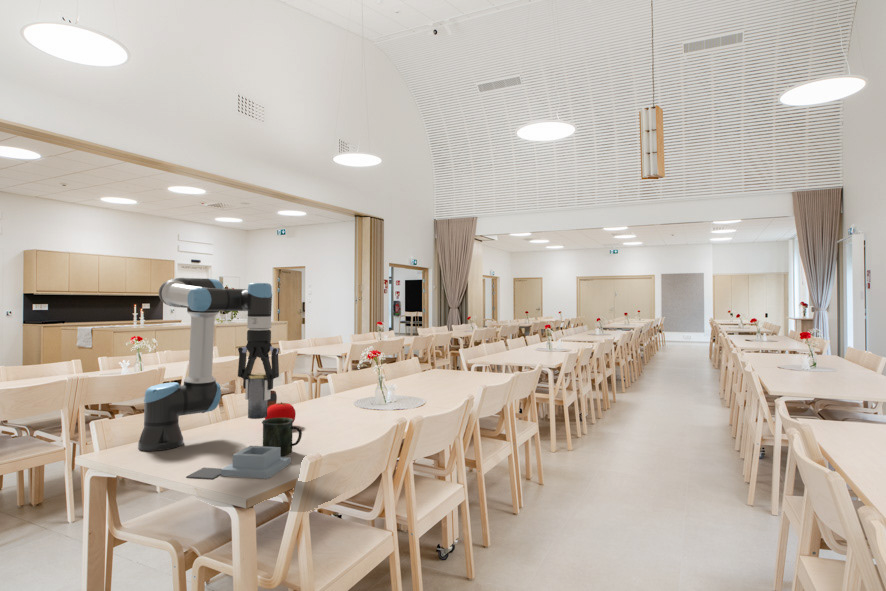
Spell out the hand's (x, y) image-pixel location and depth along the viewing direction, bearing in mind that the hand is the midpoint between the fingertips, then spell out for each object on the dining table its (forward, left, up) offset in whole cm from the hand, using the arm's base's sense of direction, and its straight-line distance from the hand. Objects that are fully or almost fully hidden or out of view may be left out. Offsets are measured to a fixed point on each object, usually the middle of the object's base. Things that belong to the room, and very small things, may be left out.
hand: (257, 398), depth 170 cm
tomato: (-19, +56, -23) cm, 63 cm away
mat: (-13, -7, -23) cm, 27 cm away
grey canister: (0, 0, -6) cm, 6 cm away
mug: (0, +18, -23) cm, 29 cm away
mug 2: (-36, +79, -23) cm, 90 cm away
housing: (0, 0, -23) cm, 23 cm away
